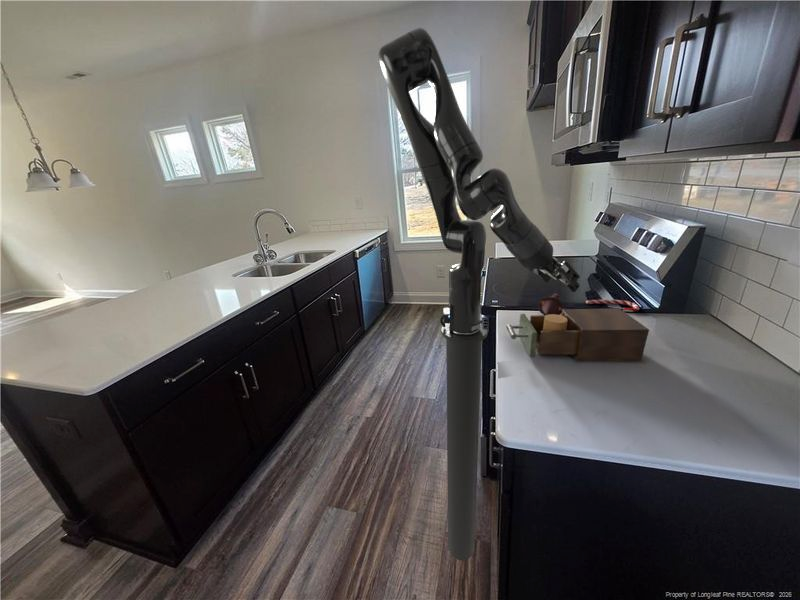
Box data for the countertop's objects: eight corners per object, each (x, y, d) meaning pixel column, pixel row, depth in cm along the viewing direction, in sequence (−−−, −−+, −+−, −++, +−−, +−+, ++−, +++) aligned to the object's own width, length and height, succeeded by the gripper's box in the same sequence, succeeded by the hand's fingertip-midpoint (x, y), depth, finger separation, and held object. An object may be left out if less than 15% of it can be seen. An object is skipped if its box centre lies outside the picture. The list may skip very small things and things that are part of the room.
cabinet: (577, 361, 78) (582, 330, 74) (558, 337, 89) (562, 309, 86) (641, 361, 76) (649, 329, 73) (613, 336, 88) (619, 308, 84)
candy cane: (585, 297, 112) (636, 300, 106) (584, 300, 112) (635, 304, 107) (587, 305, 105) (642, 309, 99) (587, 308, 106) (641, 313, 100)
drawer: (512, 356, 80) (514, 332, 77) (503, 335, 90) (504, 313, 88) (586, 357, 78) (591, 332, 75) (568, 335, 88) (571, 312, 86)
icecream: (564, 308, 92) (569, 295, 104) (539, 298, 95) (547, 287, 107) (555, 328, 95) (561, 314, 107) (530, 318, 98) (539, 305, 110)
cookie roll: (544, 349, 80) (548, 323, 77) (538, 339, 85) (541, 314, 82) (567, 349, 79) (571, 322, 76) (559, 339, 84) (563, 314, 81)
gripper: (563, 235, 64) (596, 279, 72) (516, 227, 77) (549, 265, 84) (539, 265, 65) (575, 305, 72) (497, 251, 77) (531, 287, 85)
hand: (561, 283), depth 78 cm, fingers open, 8 cm apart
